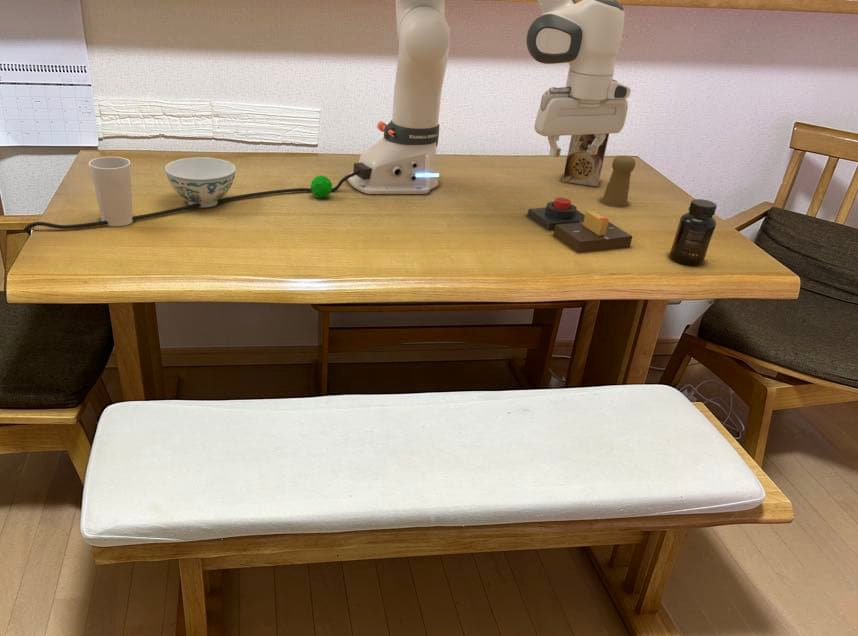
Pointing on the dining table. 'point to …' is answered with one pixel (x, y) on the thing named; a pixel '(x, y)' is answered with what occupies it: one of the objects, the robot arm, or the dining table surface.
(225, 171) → the chinaware
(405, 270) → the dining table surface
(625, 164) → the brown pawn
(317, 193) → the polyhedron
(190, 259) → the dining table surface
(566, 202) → the button
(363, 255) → the dining table surface
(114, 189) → the cup
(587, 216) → the upright wooden block
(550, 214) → the alarm box
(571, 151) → the coffee box
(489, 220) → the dining table surface
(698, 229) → the supplement bottle
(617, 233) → the clock face plate
